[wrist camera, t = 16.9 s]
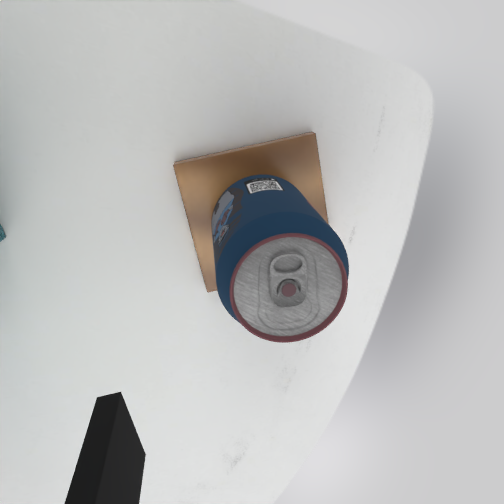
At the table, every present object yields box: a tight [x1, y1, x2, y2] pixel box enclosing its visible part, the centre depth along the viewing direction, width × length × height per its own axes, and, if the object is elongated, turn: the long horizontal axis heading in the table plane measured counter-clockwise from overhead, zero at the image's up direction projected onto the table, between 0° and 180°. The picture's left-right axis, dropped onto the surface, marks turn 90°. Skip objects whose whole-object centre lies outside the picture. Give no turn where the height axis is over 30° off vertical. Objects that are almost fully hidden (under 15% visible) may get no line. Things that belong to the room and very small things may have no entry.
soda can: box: [211, 174, 349, 342], centre depth 27 cm, size 7×7×12 cm
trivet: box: [173, 132, 328, 292], centre depth 33 cm, size 10×10×1 cm
